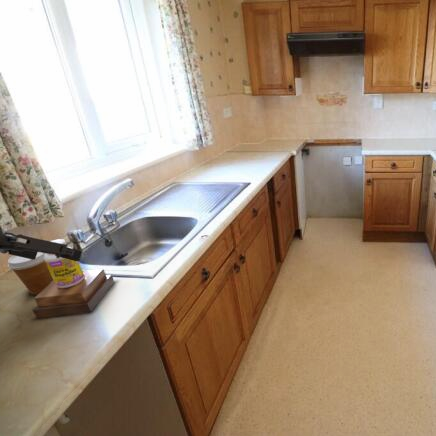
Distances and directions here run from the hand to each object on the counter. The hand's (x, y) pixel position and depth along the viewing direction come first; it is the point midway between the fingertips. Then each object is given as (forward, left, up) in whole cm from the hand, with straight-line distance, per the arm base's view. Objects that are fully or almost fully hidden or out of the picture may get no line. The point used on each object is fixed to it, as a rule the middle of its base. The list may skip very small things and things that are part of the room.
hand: (57, 255), depth 88 cm
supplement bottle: (0, 0, -9) cm, 9 cm away
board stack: (0, 0, -15) cm, 15 cm away
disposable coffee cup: (-16, +4, -15) cm, 22 cm away
